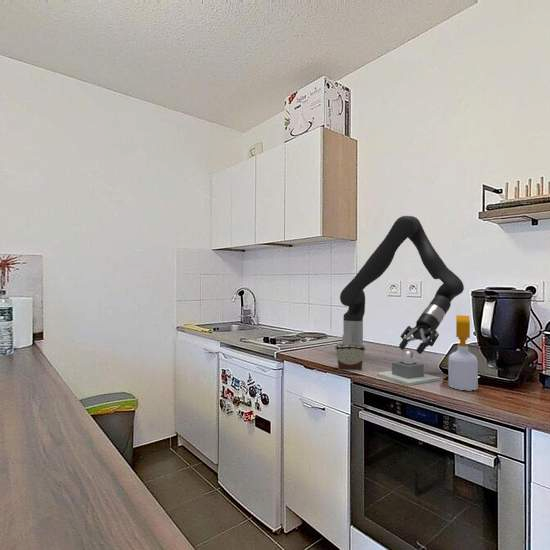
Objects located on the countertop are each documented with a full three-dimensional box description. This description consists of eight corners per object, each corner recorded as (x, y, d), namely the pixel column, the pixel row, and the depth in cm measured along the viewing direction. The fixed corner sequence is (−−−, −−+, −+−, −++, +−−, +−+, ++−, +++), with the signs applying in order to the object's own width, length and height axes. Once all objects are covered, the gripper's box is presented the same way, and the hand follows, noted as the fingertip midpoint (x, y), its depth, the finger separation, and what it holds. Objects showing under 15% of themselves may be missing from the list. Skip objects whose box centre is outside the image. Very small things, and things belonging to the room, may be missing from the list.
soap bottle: (476, 385, 134) (476, 315, 134) (478, 392, 126) (478, 317, 126) (448, 382, 138) (448, 314, 138) (448, 389, 130) (448, 316, 130)
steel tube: (400, 374, 146) (400, 350, 146) (408, 373, 147) (408, 349, 147) (408, 377, 142) (408, 352, 142) (416, 375, 144) (416, 351, 144)
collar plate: (376, 375, 148) (376, 361, 148) (406, 371, 155) (406, 357, 155) (408, 385, 134) (408, 369, 134) (440, 380, 141) (440, 365, 141)
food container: (363, 367, 162) (363, 343, 162) (365, 370, 156) (365, 345, 156) (334, 366, 163) (334, 342, 163) (334, 369, 157) (334, 345, 157)
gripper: (411, 310, 156) (390, 341, 150) (441, 313, 143) (419, 346, 138) (421, 323, 158) (400, 353, 153) (451, 327, 145) (429, 360, 140)
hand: (409, 350), depth 145 cm, fingers open, 8 cm apart
